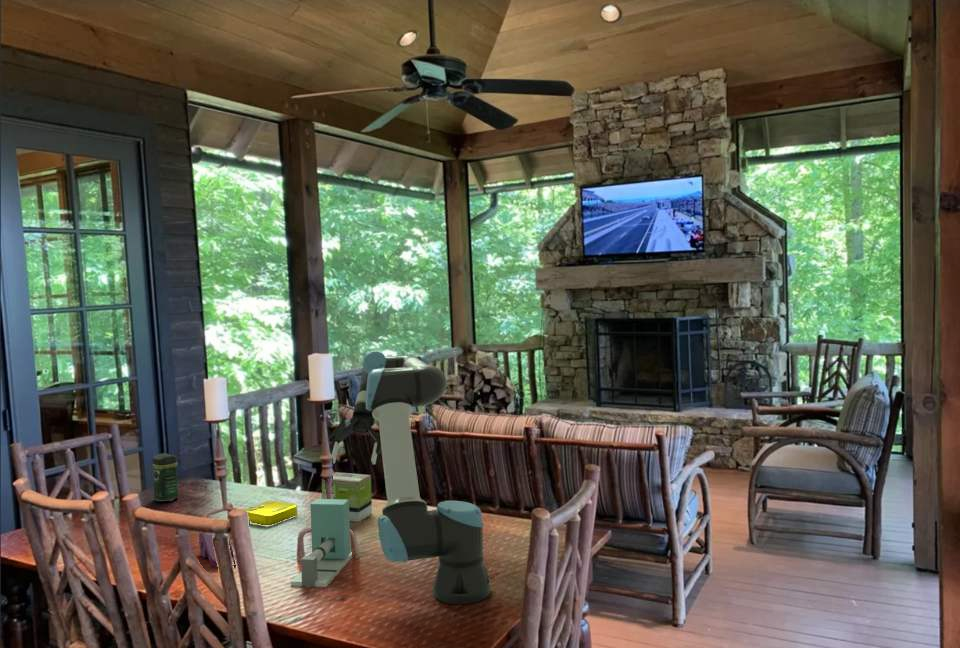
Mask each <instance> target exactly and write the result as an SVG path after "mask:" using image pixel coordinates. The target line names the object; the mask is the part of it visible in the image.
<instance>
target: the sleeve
mask: <svg viewBox="0 0 960 648" xmlns="http://www.w3.org/2000/svg"><path fill="white" fill-rule="evenodd" d="M309 506H310V526H311V528H310V529H311V530H310V531H311V535H310V536H311V554H312V553H313V551H314V549H316V548H317V547H319V546H320V545H321V544H322V543H323V542H324V541H325V540H326V539H327V538H328V537H330V538H335V546H334V547H333V548H332V549H331V550H330V551H329V552H328V553H327V554H326V555H325V557H324V558H332V559H345V558H346V557H347V556H348V555H349V554H350V553H351V525H350V523H351V521H350V517H349V500H344V499H322V498H317V499H315V500H313V501H312V502H311V503H310V505H309Z"/></svg>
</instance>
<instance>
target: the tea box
mask: <svg viewBox="0 0 960 648" xmlns="http://www.w3.org/2000/svg"><path fill="white" fill-rule="evenodd" d="M333 473H334V475H333V486H332V488H333V489H332V492H333V499H344V500H349V517H350V522H353V521H357V522H356V523H360V522H362V521H363V520H364V518H365V519H366V518H368V517H369V516H371V515H372V512H373V510H372V509H373V507H372V505H373V504H372V498H373V497H372V475H371V474H362V473H350V472H349V473H348V472H338V471H337V472H333ZM321 499H326V489H325V480H324V479H323V478H321ZM370 514H371V515H370ZM367 516H368V517H367ZM362 519H363V520H362ZM361 520H362V521H361ZM359 521H360V522H359Z"/></svg>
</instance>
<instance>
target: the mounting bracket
mask: <svg viewBox="0 0 960 648" xmlns="http://www.w3.org/2000/svg"><path fill="white" fill-rule="evenodd" d="M198 536H199V537H198V545H199V551H200V555H201V554H202V555H203V557H207V558H208V560H209V562H210V564H211V565H212V566H214V567H215V568H218V567H217V563H216V559H215V554H214V549H213V543H212V535H207V534H201V533H200V532H199V535H198ZM229 545H230V550H231V553H230V555H231V554H232V555H231V558H232V559H233V562H234V564H235V560H234V555H233V550H232V546H231V542H230V539H229ZM203 557H202V558H203Z"/></svg>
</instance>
